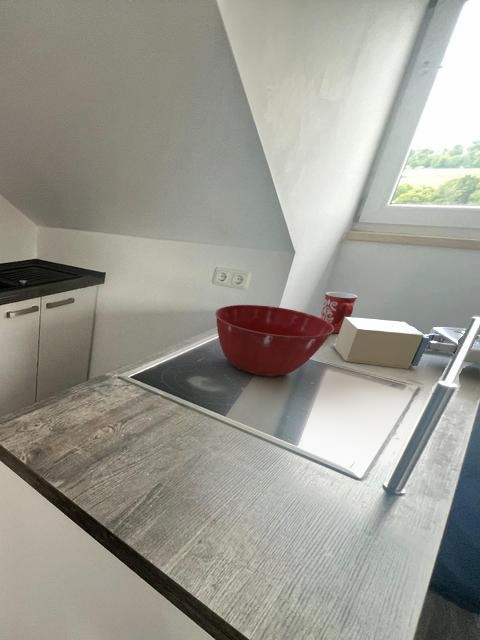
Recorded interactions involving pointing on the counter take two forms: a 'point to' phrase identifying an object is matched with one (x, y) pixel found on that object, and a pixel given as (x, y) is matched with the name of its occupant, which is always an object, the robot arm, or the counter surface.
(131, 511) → the counter surface
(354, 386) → the counter surface
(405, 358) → the beige rectangular block
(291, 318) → the mixing bowl
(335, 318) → the mug
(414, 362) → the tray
